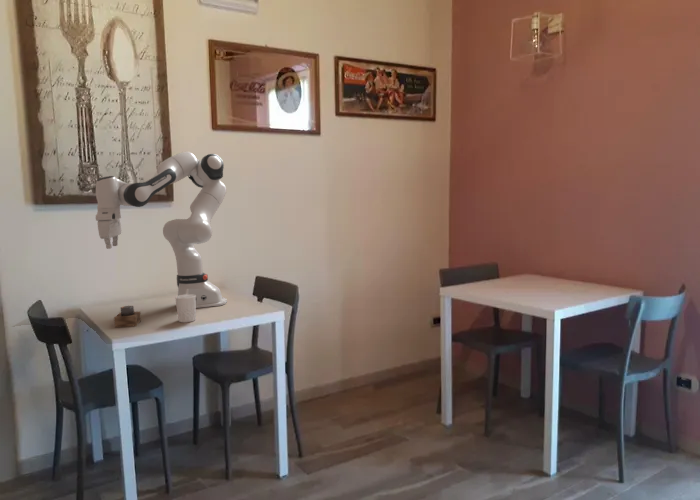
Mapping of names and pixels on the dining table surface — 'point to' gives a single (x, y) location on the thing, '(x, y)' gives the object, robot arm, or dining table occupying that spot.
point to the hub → (127, 320)
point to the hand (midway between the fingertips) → (112, 247)
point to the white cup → (186, 307)
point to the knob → (127, 310)
